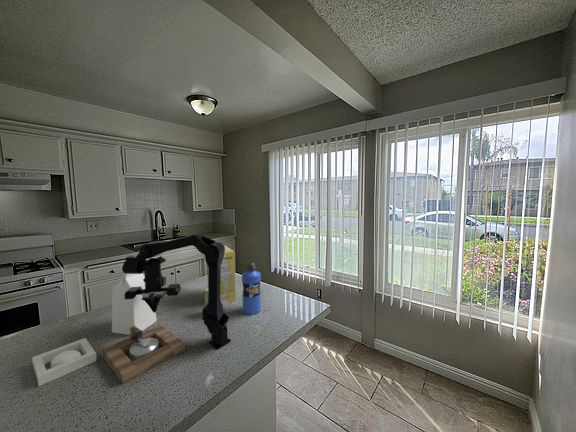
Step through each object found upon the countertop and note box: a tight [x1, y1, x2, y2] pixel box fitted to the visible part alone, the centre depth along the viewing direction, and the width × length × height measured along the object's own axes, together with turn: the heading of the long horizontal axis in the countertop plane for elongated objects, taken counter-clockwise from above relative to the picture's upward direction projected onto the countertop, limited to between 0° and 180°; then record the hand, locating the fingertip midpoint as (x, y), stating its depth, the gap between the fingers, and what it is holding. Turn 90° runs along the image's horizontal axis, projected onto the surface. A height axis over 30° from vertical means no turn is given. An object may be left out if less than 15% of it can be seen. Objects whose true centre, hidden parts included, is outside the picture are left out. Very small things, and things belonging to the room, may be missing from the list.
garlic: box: [50, 350, 82, 368], centre depth 81 cm, size 8×7×4 cm
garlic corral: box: [31, 337, 97, 387], centre depth 81 cm, size 14×14×3 cm
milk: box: [111, 272, 158, 336], centre depth 103 cm, size 12×12×26 cm
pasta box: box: [207, 244, 236, 305], centre depth 133 cm, size 18×10×28 cm, turn 31°
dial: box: [129, 326, 160, 362], centre depth 87 cm, size 14×9×7 cm, turn 57°
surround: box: [101, 324, 186, 385], centre depth 86 cm, size 20×20×3 cm
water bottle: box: [241, 261, 262, 316], centre depth 118 cm, size 9×9×25 cm
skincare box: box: [204, 288, 208, 307], centre depth 116 cm, size 6×4×12 cm
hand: (154, 312), depth 94 cm, fingers closed
